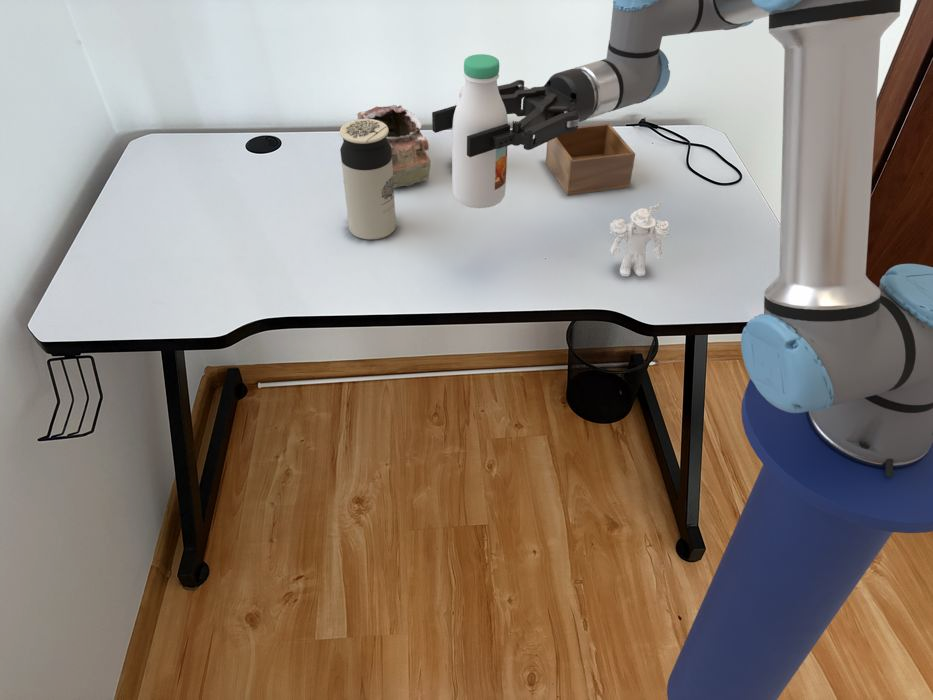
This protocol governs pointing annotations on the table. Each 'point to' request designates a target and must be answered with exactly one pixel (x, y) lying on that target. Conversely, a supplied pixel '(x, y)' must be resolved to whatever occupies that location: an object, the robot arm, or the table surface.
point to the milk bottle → (474, 113)
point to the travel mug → (368, 178)
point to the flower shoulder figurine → (638, 238)
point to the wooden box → (590, 160)
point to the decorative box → (403, 144)
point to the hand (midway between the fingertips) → (450, 134)
